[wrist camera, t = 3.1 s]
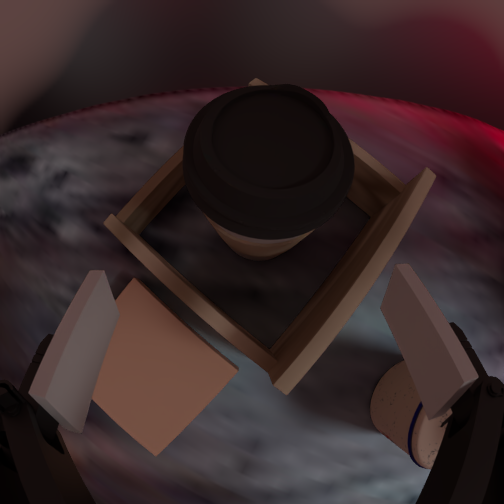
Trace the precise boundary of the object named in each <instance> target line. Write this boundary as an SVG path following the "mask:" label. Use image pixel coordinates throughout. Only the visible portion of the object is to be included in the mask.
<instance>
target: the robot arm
mask: <svg viewBox="0 0 504 504" xmlns="http://www.w3.org/2000/svg"><path fill="white" fill-rule="evenodd" d="M380 309H381V311H382V313H383V315H384V317H385V319H386V321H387V323H388V325H389V327H390V329H391V332H392V334H393V336H394V338H395V340H396V342H397V345H398V347H399V349H400V351H401V353H402V356H403V358H404V360H405V363H406V365H407V367H408V370H409V372H410V374H411V377H412V379H413V382H414V384H415V386H416V389H417V391H418V394H419V396H420V399H421V402H422V404H423V407H424V409H425V412H426V415H427V417H428V420H432V419H434V418H437V417H440V416H443V415H444V414H445V413H446V412H447V411H448V410H449V409H450V408H451V410H452V414H451V415H450V416H449V417H448V418H447V419H446V420H445V421H444V422H443V423H442V424H441V426H440V427H443V426H444V425H446V424H447V427H446V428H445V429H446V430H445V433H444V436H443V439H442V442H441V445H440V448H439V450H438V453H437V456H436V458H435V461H434V464H433V466H432V469H431V471H430V473H429V476H428V478H427V480H426V483H425V485H424V487H423V489H422V491H421V494H420V496H419V498H418V500H417V502H416V504H504V384H503V383H502V382H501V381H500V380H499V379H498V378H496V377H492V376H490V377H489V376H488V375H487V373H486V371H485V369H484V367H483V366H482V364H481V362H480V360H479V358H478V357H477V355H476V353H475V351H474V350H473V349H472V346H471V344H470V343H469V341H467V338H466V336H465V334H464V333H463V331H462V330H461V329H460V328H459V327H458V326H457V325H456V324H455V323H454V322H452V323H448V321H447V320H446V318H445V317H444V315H443V313H442V312H441V310H440V309H439V307H438V306H437V304H436V303H435V301H434V299H433V298H432V296H431V295H430V293H429V292H428V290H427V289H426V288H425V286H424V285H423V283H422V282H421V280H420V279H419V277H418V276H417V275H416V273H415V272H414V270H413V269H412V268H411V266H410V265H409V264H395V266H394V270H393V273H392V276H391V279H390V282H389V285H388V288H387V291H386V293H385V296H384V299H383V302H382V305H381V307H380ZM119 316H120V313H119V311H118V308H117V305H116V303H115V300H114V297H113V295H112V292H111V289H110V286H109V283H108V280H107V277H106V274H105V271H104V270H90V271H89V273H88V275H87V276H86V278H85V280H84V281H83V283H82V285H81V286H80V288H79V290H78V292H77V293H76V295H75V297H74V299H73V300H72V302H71V304H70V306H69V308H68V309H67V311H66V313H65V315H64V317H63V319H62V321H61V323H60V325H59V327H58V328H57V330H56V332H55V334H54V335H51V334H48V335H47V336H46V337H45V338H44V339H43V341H42V342H41V343H40V345H39V347H38V349H37V351H36V355H34V357H33V359H32V363H30V366H29V368H28V370H27V372H26V374H25V377H24V379H23V381H22V384H21V386H20V388H19V391H18V390H17V389H16V388H15V387H14V386H13V385H12V384H11V383H10V382H9V381H7V380H1V381H0V504H96V503H95V501H94V499H93V498H92V496H91V494H90V492H89V491H88V489H87V487H86V485H85V484H84V482H83V480H82V478H81V476H80V474H79V472H78V470H77V468H76V466H75V464H74V462H73V460H72V458H71V456H70V454H69V452H68V450H67V447H66V445H65V443H64V441H63V438H62V436H61V434H60V432H59V431H58V429H57V428H58V424H60V425H61V426H63V427H64V428H65V429H66V430H69V431H73V432H76V433H80V434H82V431H83V427H84V423H85V420H86V416H87V412H88V409H89V405H90V402H91V398H92V395H93V392H94V388H95V385H96V382H97V379H98V376H99V372H100V369H101V366H102V363H103V360H104V357H105V354H106V352H107V349H108V346H109V343H110V340H111V337H112V335H113V332H114V329H115V327H116V324H117V321H118V319H119Z"/></svg>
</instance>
